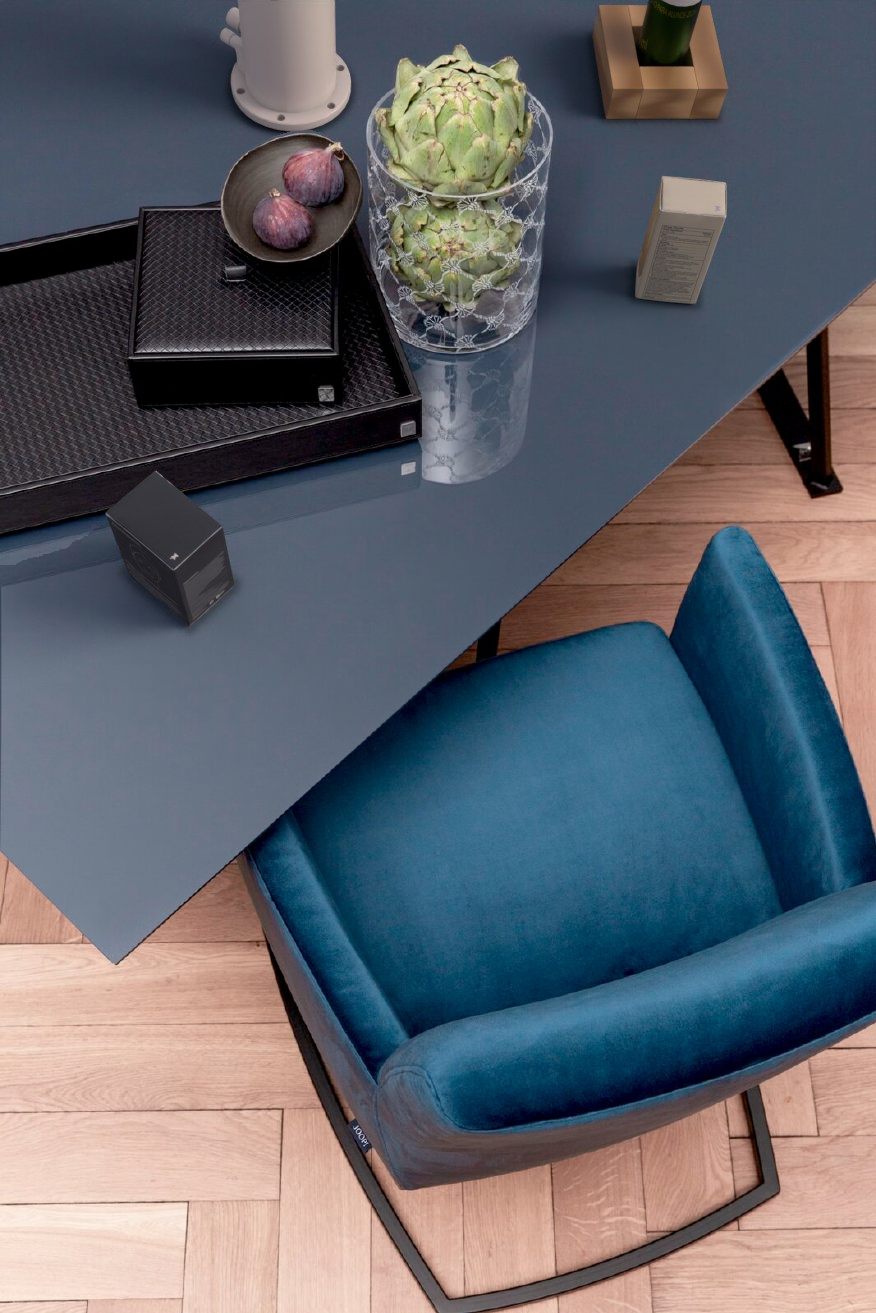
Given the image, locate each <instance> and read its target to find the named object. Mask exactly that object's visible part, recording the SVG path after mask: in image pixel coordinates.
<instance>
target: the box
mask: <svg viewBox="0 0 876 1313" xmlns="http://www.w3.org/2000/svg"><path fill="white" fill-rule="evenodd" d="M105 516H106V519H107V521H108V525H109V527H110V529H111V532H112V534H113V537H114V539H115V542H116V545H117V547H118V550H119V553H120V555H121V558H122V560H123V564H124V566H125V569H126V572H127V573H128V575H129V576H130V577H132V579H133V580H135V581H136V582H137V583H138V584H139V585H140V586H142V587H143V589H145V590H146V591H147V592H149V593H150V595H152V596H153V597H154V598H156V599H157V600H158V601H159V602H160V603H161V604H163V605H164V606H165V607H166V608H167V609H169V611H170V612H172V613H173V614H174V615H176V617H178V618H179V619H180V620H181V621H182V622H184V624H186V625H187V626H189V627H191V626H192V625H193V624H194V623H195V622H196V621H198V620H199V619H200V618H201V617H203V615H204V614H206V613H207V612H208V611H209V610H210V609H211V608H212V607H213V606H215V605H216V604H217V602H219V601H220V600H221V599H222V598H223V597H224V596H226V594H227V593H228V592H230V591H231V590H233V588H234V587H235V580H234V576H233V575H234V574H233V570H232V564H231V560H230V554H229V551H228V546H227V540H226V536H225V531H224V525H223V524H221V523H220V522H219V521H217V520H216V519H215V518H214V517H213V516H212V515H210V514H209V513H207V511H205V510H204V509H202V508H201V506H199V505H198V504H197V503H196V502H194V501H193V500H192V499H191V498H189V497H188V496H187V495H186V494H185V493H183V492H182V491H181V490H180V489H178V488H177V487H176V486H175V485H173V483H172V482H170V481H169V480H168V479H166V478H165V477H164V476H163V475H162V474H161V473H160V472H158V471H157V470H154V471H153V472H151V474H150V475H148V476H147V477H146V478H144V479H143V480H142V481H141V482H140V483H139V484H138V485H136V486H135V487H134V488H133V489H131V490H130V491H129V492H128V493H127V494H126V495H125V496H123V497H122V498H121V499H120V500H119V501H118V502H116V503H115V504H114V505H112V506H111V507H110V508H108V510H106V512H105Z"/></svg>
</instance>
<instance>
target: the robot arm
mask: <svg viewBox="0 0 876 1313" xmlns="http://www.w3.org/2000/svg"><path fill="white" fill-rule="evenodd" d="M237 6H238V7H235V6H234V7H231V8H230V9H229V10H228V11H227V14H226V16H225V22H226V25H228V26H229V27H230V28H232V29H234V31H236V32H238V33H240V36H239V35H238V34H237V33H235V32H234V31H233V30H231V29H229V28H227V27H224V28H223V29H222V30H221V31H220V34H219V39H220V41H221V42H222V43H225V45H227V46H229V47H232V48H233V49H234V50H235V53H236V62H235V63H234V65H233V67H232V71H231V74H230V87H231V94H232V97H233V99H234V102H235V104H236V105H237V107H238V108H239V110H240V111H241V112H242V113H243V114H244V115H245V116H246V117H248V118H249V119H251V120H252V121H253V122H255V123H256V124H259V125H262V126H264V127H266V128H270V129H273V130H278V131H283V132H284V131H285V132H301V131H302V132H303V131H308V130H312V129H315V128H319V127H322V126H324V125H325V124H327V123H330V122H331V121H332V120H334V119H335V118H337V117H338V116H339V115H340V114H341V113H342V112H343V110H344V109H345V108H346V106H347V104H348V102H349V100H350V97H351V93H352V79H351V74H350V70H349V68H348V65H347V63H346V62H345V61H344V60H343V58H342V57H341V56H340V55H339V54H338V53H337V50H336V49H337V48H336V46H337V44H336V42H337V41H336V0H237Z"/></svg>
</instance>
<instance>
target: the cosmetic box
mask: <svg viewBox="0 0 876 1313" xmlns="http://www.w3.org/2000/svg"><path fill="white" fill-rule="evenodd" d="M727 205H728V191H727V182H724V181H718V180H711V179H710V180H709V179H702V178H690V177H681V176H666V175H662V176H661V178H660V182H659V186H658V189H657V194H656V197H655V201H654V204H653V207H652V211H651V214H650V218H649V222H648V225H647V229H646V232H645V236H644V240H643V243H642V247H641V251H640V254H639V256H638V257H639V258H638V261H637V265H636V274H635V275H636V277H635V290H634V291H635V292H634V293H635V294H634V296H635V298H636V299H639V300H640V299H641V300H649V301H657V302H667V303H678V304H689V305H695V304H696V303H697V300H698V298H699V295H700V292H701V290H702V286H703V284H704V282H705V277H706V275H707V272H708V270H709V267H710V264H711V261H712V259H713V255H714V253H715V249H716V247H717V244H718V241H719V238H720V235H721V233H722V230H723V228H724V223H725V222H726V219H727V208H728V206H727Z"/></svg>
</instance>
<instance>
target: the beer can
mask: <svg viewBox="0 0 876 1313" xmlns="http://www.w3.org/2000/svg"><path fill="white" fill-rule="evenodd" d="M646 5H647V8H646V12H645V16H644V20H643V24H642V28H641V32H640V36H639V40H638V44H637V48H636V53H637V59H638V64H639V67H683V64H684V61H685V58H686V54H687V51H688V48H689V44H690V41H691V38H692V34H693V31H694V28H695V24H696V21H697V18H698V14H699V11H700V7H701V5H703V0H648V1H647V4H646Z"/></svg>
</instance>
